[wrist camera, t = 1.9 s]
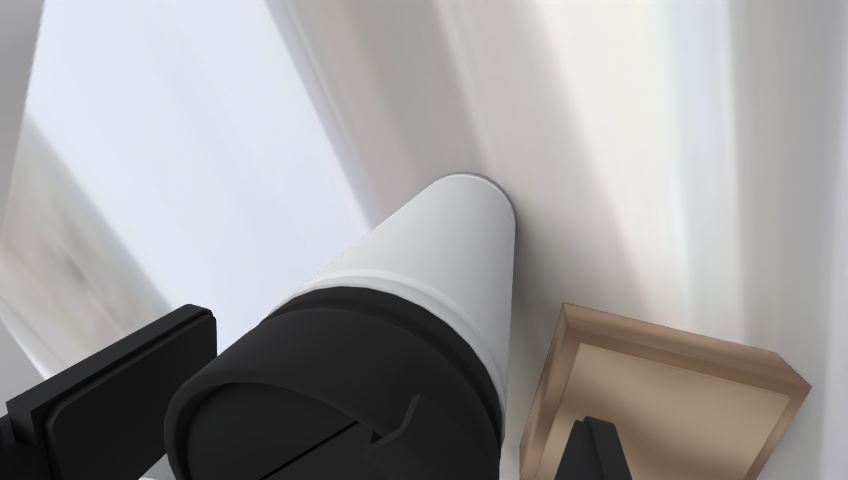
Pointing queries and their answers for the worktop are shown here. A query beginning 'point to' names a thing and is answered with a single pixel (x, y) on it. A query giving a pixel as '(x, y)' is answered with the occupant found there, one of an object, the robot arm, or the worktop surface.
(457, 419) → the travel mug
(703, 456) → the plinth
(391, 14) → the worktop surface
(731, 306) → the worktop surface
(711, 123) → the worktop surface
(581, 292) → the worktop surface
